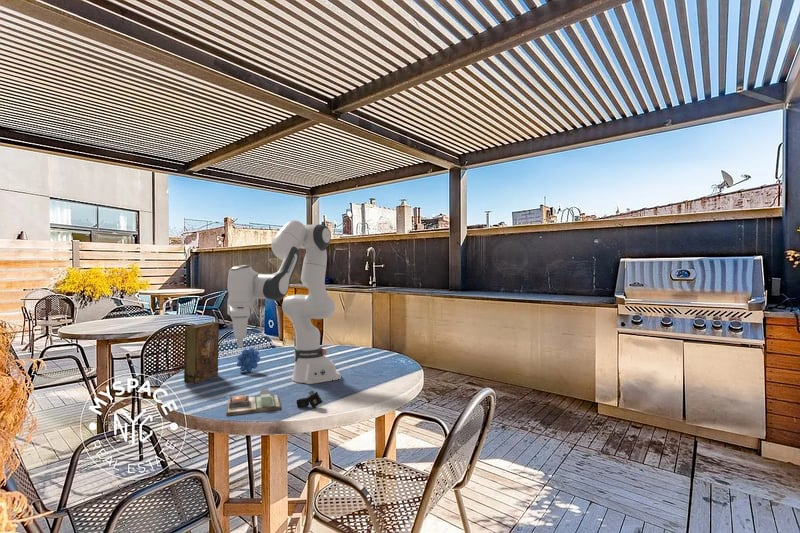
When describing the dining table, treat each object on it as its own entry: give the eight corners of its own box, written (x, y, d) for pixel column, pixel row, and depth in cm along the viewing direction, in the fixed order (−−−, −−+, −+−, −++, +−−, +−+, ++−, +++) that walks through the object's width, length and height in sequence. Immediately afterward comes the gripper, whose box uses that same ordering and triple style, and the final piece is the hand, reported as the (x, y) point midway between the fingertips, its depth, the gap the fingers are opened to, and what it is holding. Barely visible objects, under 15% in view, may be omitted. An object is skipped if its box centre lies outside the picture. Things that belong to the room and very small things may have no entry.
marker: (268, 396, 150) (268, 388, 150) (270, 405, 141) (270, 396, 141) (260, 397, 149) (260, 389, 149) (261, 406, 140) (261, 397, 140)
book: (209, 374, 185) (210, 322, 185) (219, 374, 184) (220, 322, 184) (184, 383, 169) (184, 326, 169) (194, 384, 168) (195, 327, 168)
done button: (246, 401, 145) (246, 394, 145) (246, 405, 140) (246, 398, 140) (232, 402, 143) (232, 396, 143) (231, 407, 138) (231, 400, 138)
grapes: (263, 370, 193) (263, 346, 194) (257, 373, 187) (258, 348, 187) (240, 369, 194) (241, 345, 194) (234, 373, 187) (234, 348, 187)
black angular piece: (301, 415, 141) (293, 402, 141) (303, 413, 143) (295, 400, 144) (321, 403, 141) (313, 390, 141) (322, 401, 143) (314, 388, 143)
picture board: (277, 396, 153) (277, 389, 154) (280, 409, 140) (280, 401, 140) (228, 402, 147) (228, 394, 147) (226, 415, 133) (226, 407, 133)
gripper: (232, 306, 150) (231, 341, 150) (230, 312, 131) (230, 353, 131) (249, 305, 153) (249, 340, 153) (250, 312, 134) (249, 351, 134)
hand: (240, 346), depth 142 cm, fingers closed
